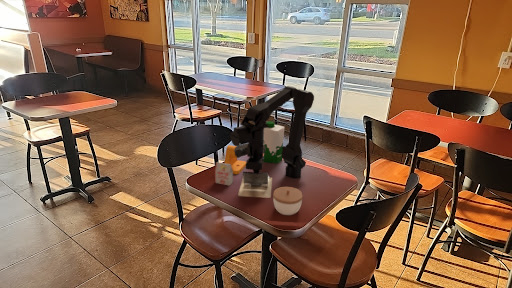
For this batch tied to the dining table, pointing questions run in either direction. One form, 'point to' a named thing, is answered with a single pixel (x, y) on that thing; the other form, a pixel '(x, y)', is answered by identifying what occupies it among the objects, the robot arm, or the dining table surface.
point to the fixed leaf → (262, 184)
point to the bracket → (234, 160)
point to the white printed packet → (223, 173)
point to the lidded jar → (287, 200)
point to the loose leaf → (255, 178)
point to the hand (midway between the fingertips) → (255, 175)
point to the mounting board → (255, 190)
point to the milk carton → (273, 142)
